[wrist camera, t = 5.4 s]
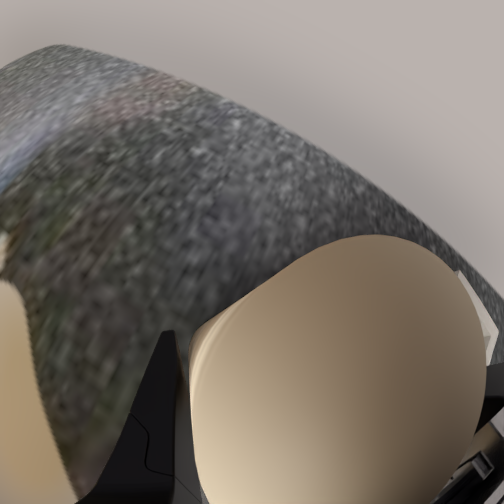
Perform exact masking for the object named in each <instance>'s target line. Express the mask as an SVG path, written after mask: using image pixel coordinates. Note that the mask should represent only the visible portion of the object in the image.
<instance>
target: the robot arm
mask: <svg viewBox="0 0 504 504" xmlns="http://www.w3.org/2000/svg"><path fill="white" fill-rule="evenodd" d="M503 501H504V362H503V363H498V364H493V365H488V366H486V387H485V394H484V400H483V406H482V410H481V414H480V418H479V421H478V424H477V427H476V430H475V433H474V436H473V438H472V441H471V443H470V445H469V447H468V450H467V452H466V454H465V456H464V457H463V459H462V461H461V463H460V464H459V466H458V468H457V469H456V471H455V473H454V474H453V475H452V477H451V478H450V480H449V481H448V483H447V484H446V485H445V486H444V488H443V489H442V490H441V491H440V493H439V494H438V495H437V496H436V497H435V498H434V499H433V500H432V501H431V502H430V503H429V504H501V503H502V502H503ZM75 504H202V498H201V492H200V486H199V480H198V473H197V467H196V462H195V453H194V444H193V436H192V427H191V418H190V408H189V397H188V390H187V385H186V380H185V375H184V371H183V366H182V361H181V355H180V350H179V346H178V342H177V338H176V333H175V331H174V330H168V331H163V332H162V333H161V335H160V337H159V340H158V342H157V345H156V347H155V349H154V352H153V354H152V356H151V359H150V361H149V364H148V366H147V369H146V371H145V374H144V376H143V378H142V381H141V383H140V386H139V389H138V391H137V394H136V396H135V399H134V401H133V404H132V407H131V409H130V413H129V414H128V417H127V420H126V422H125V425H124V427H123V430H122V432H121V435H120V437H119V439H118V441H117V443H116V445H115V447H114V449H113V451H112V453H111V455H110V457H109V459H108V461H107V463H106V465H105V467H104V469H103V471H102V472H101V474H100V476H99V478H98V480H97V482H96V484H95V485H94V487H93V488H92V489H91V491H90V492H89V493H88V494H87V495H86V496H84V497H83V498H82V499H80V500H79V501H78V502H76V503H75Z"/></svg>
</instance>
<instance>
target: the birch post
mask: <svg viewBox="0 0 504 504" xmlns="http://www.w3.org/2000/svg"><path fill="white" fill-rule="evenodd" d="M188 356H189V383H190V402H191V417H192V430H193V442H194V453H195V462H196V466H197V471H198V475H199V479H200V483H201V486H202V488H203V490H204V492H205V495H206V497H207V499H208V501H209V503H210V504H429V503H430V502H431V501H432V500H433V499H434V498H435V497H436V496H437V495H438V494H439V493H440V491H441V490H442V489H443V488H444V486H445V485H446V484H447V483H448V481H449V480H450V478H451V477H452V475H453V474H454V473H455V471H456V469H457V468H458V466H459V464H460V463H461V461H462V459H463V457H464V456H465V454H466V452H467V450H468V447H469V445H470V443H471V441H472V438H473V436H474V433H475V430H476V427H477V424H478V421H479V418H480V414H481V410H482V406H483V400H484V394H485V387H486V350H485V342H484V336H483V332H482V327H481V323H480V320H479V317H478V314H477V311H476V308H475V306H474V304H473V302H472V300H471V297H470V295H469V293H468V292H467V290H466V289H465V287H464V285H463V284H462V282H461V281H460V279H459V278H458V277H457V276H456V274H455V273H454V272H453V271H452V269H451V268H450V267H449V266H448V265H447V264H445V263H444V262H443V261H442V260H441V259H440V258H439V257H438V256H436V255H435V254H433V253H432V252H430V251H429V250H428V249H426V248H424V247H422V246H420V245H418V244H416V243H414V242H411V241H408V240H405V239H402V238H398V237H393V236H386V235H359V236H354V237H349V238H344V239H340V240H337V241H334V242H332V243H329V244H326V245H324V246H321V247H319V248H317V249H315V250H313V251H311V252H310V253H308V254H306V255H304V256H302V257H301V258H299V259H297V260H296V261H294V262H293V263H291V264H290V265H288V266H287V267H286V268H284V269H283V270H281V271H280V272H279V273H277V274H276V275H274V276H273V277H271V278H270V279H269V280H267V281H266V282H264V283H263V284H261V285H260V286H259V287H257V288H256V289H254V290H253V291H251V292H250V293H248V294H247V295H246V296H244V297H243V298H241V299H240V300H238V301H237V302H235V303H234V304H232V305H231V306H229V307H228V308H227V309H225V310H224V311H222V312H221V313H219V314H218V315H216V316H215V317H213V318H212V319H210V320H209V321H207V322H206V323H204V324H203V325H201V326H200V327H199V328H198V329H197V330H196V332H195V333H194V335H193V336H192V338H191V341H190V344H189V350H188Z"/></svg>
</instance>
